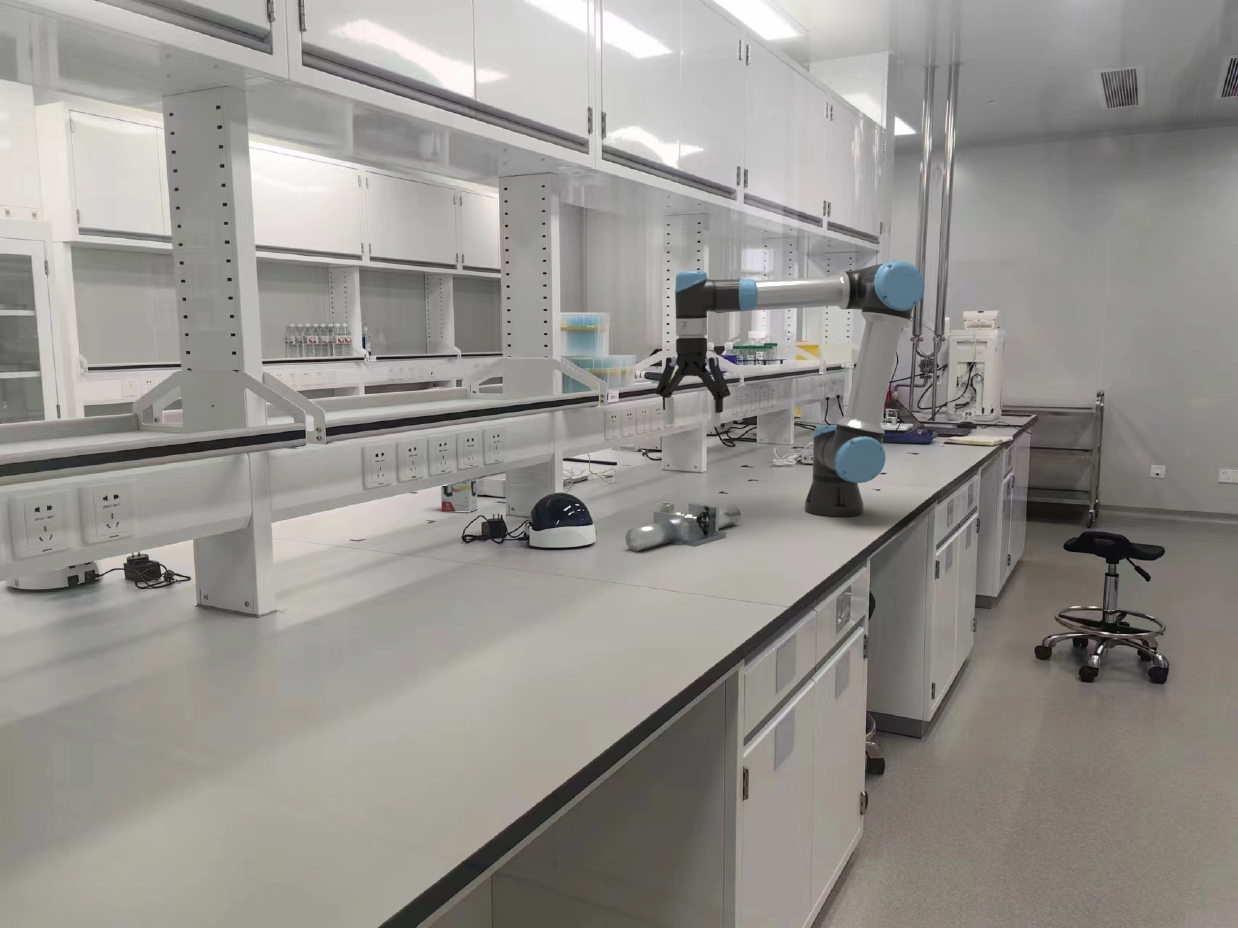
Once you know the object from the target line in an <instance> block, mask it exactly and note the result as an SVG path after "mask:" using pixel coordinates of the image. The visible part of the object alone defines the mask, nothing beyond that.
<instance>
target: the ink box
mask: <svg viewBox="0 0 1238 928" xmlns="http://www.w3.org/2000/svg"><path fill="white" fill-rule="evenodd" d="M440 490H441V491H440V495H441V498H440V499H441V512H445V511H473V510H474V509H476V508H477V509H478V479H477V480H474V481H471V482H463V483H461V484H458V485H450V486H442V487H440Z"/></svg>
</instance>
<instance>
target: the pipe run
mask: <svg viewBox="0 0 1238 928" xmlns="http://www.w3.org/2000/svg"><path fill="white" fill-rule="evenodd" d="M704 505H705V504H702V503H694V502H690V503H688V515H693V517H697V515H700V513H702V512H703V510H705V508H704ZM706 505H707V506H708V507H709V508H710V511H709V515H710V519H709V528H708V534H705V533H703V532H702V529H701V528H700V527H699V523H697V522H696V521H693V522H692V523H688V524H687V525H686V524H685V521H684V520H685V516H686V515H685V516H683V515H677V514H671V513H666V512H660V511H658V510H656V511H653V523H650V524H646V525H645V524H644V525H642V526H637V527H634V528H630V529H628V531H626V534H625V539H624V540H625V543H626V546H627V547H628V549H629V550H630V551H631V552H632V551H633V552H639V551H643V550H646V549H650V548H655V547H658V546H661V545H664V544H667V543H669V544H672V545H673V544H674V545H679V546H682V545H686V546H692V547H697V546H700V545H705V544H708V543H710V542H714V541H717V540H721V539H724V538H727V533H726V532H722V531H719V529H722V528H726V527H729V526H730V527H731V526H732V525H733V526H734V525H736V524H738V523H739V521H741V517H742V515H741V511H740V508H739V507H738V506H737V505H735V504H732V503H731V504H727V505H723V506H714V505H713V506H712V505H708V504H706ZM701 526H704V524H701Z"/></svg>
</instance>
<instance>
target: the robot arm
mask: <svg viewBox="0 0 1238 928" xmlns="http://www.w3.org/2000/svg"><path fill="white" fill-rule="evenodd" d="M924 293H925V280H924V277H923V274H922V272H921V271H920V269H919V268H918V267H917V266H915V265H914V264H912V263H911V262H907V261H906V260H905V261H903V260H889V261H886V262H883V263H880V264H875V265H873V264H872V265H871V266H867V267H864V268H860V269H856V270H849V271H848V270H846V271H841V272H839V273H838V275H830V276H829V275H828V276H827V275H826V276H816V277H815V276H813V277H811V276H810V277H794V278H777V279H776V278H775V279H762V280H761V279H759V280H758V279H757V280H754V279H751V278H735V279H734V278H731V279H709V278H708V274H707V272H706V271H704V270H688V271H687V270H686V271H679V272H678V273H677V274H676V276H675V289H674V295H675V297H674V301H675V336H677V337H678V338H676V340H675V352H676V354H677V355H676V356H677V357H674V356H672V357H671V356H668V357H666V358H665V367H664V370H663V371H662V375H661V377H660V379H659V381H658V384H657V386H656V390H655V394H656V395H657V396H661V397H662V410H663V411H664V416H665V417H664V420H665V421H664V423H665V425H670V424H675V398H674V396H673V394H674V392H675V391H676V389H677V387H678V386H679V384H680V383H681V381H683V379H684V378H685V377H689V376H691V377H698V378H699V379H700V380H701V381H702V382H703V384H704V386H705V387H706V389H707V390H708V391H709V393H710V394H711V395H712V397H713V398H712V399H711V400H710V401H711V403H710V407H711V408H710V409H711V410H710V411H711V417H710V418H711V419H710V421H711V423H710V424H711V428H716V427H721V413H723V412H724V411H723V410H724V398H727V397H729V396H731V391H730V389H729V387H728V384H727V382H726V379H725V377H724V375H723V372H722V370H721V367H720V360H719V357H717V356H711V357H709V358H708V357H707V352H708V338H706V337H705V336H707V335H708V312H710V313H711V312H713V313H716V314H724V313H731V312H732V313H734V312H735V313H736V312H737V313H738V312H749V311H750V312H751V311H753V312H754V311H766V310H767V311H768V310H785V309H800V308H801V309H804V308H821V307H823V308H824V307H838V308H839V309H841V310H861V312H860V313H861V314H860V315H862V317H863V320H864V321H865V325H864V329H863V333H862V338H861V342H860V347H859V352H858V356H857V361H856V365H855V369H854V374H853V378H852V379H853V380H852V383H851V388H850V392H849V397H848V400H847V401H848V402H847V405H846V406H847V407H846V410H845V415H844V417H843V418H842V419H841V420H839V421H838V422H837V423H836V424H835V425H833V424H832V425H818V426H816V428H815V429H814V431H813V434H814V435H813V437H812V440H813V448H812V449H813V450H812V451H813V453H812V454H813V455H812V457H813V458H812V482H811V485H810V488H809V490H808V493H807V496H806V499H805V502H804V511H805V512H808V514H809V513H810V514H813V515H816V516H817V515H818V516H819V515H820V516H827V517H854V516H860V515H862V514H863V513H864V502H863V498H862V495H861V491H860V487H859V484H863V483H864V484H865V483H867V482H871V481H872V480H873V479H875V478H876V477H878V476H879V474H881V472H882V471H883V469H884V466H885V464H886V452H885V449H884V447H883V441H884V437H885V433H886V432H885V429H883V427H882V426H881V421H882V417H883V412H884V408H885V403H886V399H887V395H888V391H889V390H888V389H889V386H890V381H891V377H892V373H893V368H894V363H895V359H896V354H897V350H898V346H899V342H900V341H899V340H900V337H901V333H902V328H903V327H905V326H906V325H908V324H909V323H910V322H911V318H912V314H913V309H914V308H915V306H917V305H918V304H919V302H920V301H921V300H922V298H923V297H924ZM676 366H677V369H676V371H675V368H676ZM707 366H708V367H709V370H710V372H709V370H708V369H707ZM674 371H675V372H674ZM673 373H674V375H673ZM710 373H711V375H712V376H711V375H710ZM858 483H859V484H858Z"/></svg>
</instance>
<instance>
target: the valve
mask: <svg viewBox="0 0 1238 928" xmlns="http://www.w3.org/2000/svg"><path fill="white" fill-rule="evenodd" d="M703 505H704V508H705V510H703V512H702V513H700V515H697V517H693V515H689V514H686V515H685V514H684V513H683V512H682V511H676V512H675V504H674V502H668V501H665V502H662V501H661V502H659V503H657V511H660V512H666V513H671V514H677V515H683V516H685V520H684V522H686V523H692V522H693V521H696V522H697V523H699V527H700V528H701V529H702V532H703V533H705V534H708V528H709V519H710V515H709V511H710V508H709V507H708V506H709V505H708V504H703ZM707 505H708V506H707ZM701 524H704V526H701Z"/></svg>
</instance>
